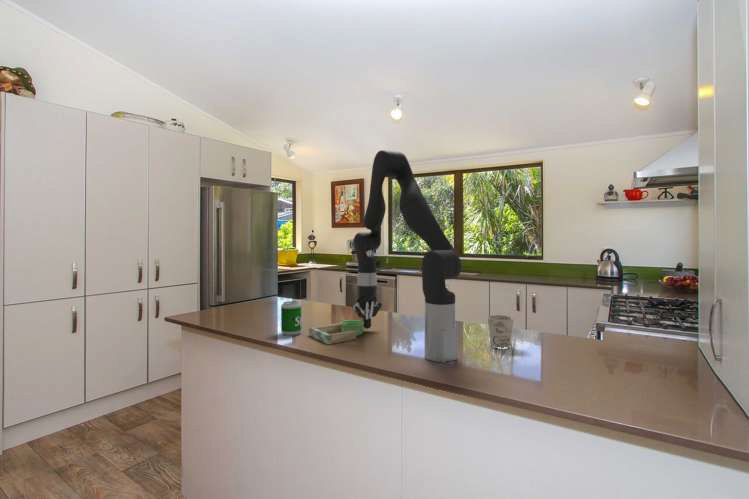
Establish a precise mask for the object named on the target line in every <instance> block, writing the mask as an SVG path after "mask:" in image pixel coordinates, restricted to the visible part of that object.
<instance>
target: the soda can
mask: <svg viewBox="0 0 749 499" xmlns="http://www.w3.org/2000/svg"><path fill="white" fill-rule="evenodd" d="M280 312H281V313H280V315H281V316H280V318H281V319H280V321H281V322H280V327H281V328H280V330H281V331H280V332H281V333H282V334H283V336H288V337H289V336H290V337H293V336H298V335H299V334H301V332H302V331H303V330H302V304H301V303H300V301H297V300H294V301H293V300H292V301H291V300H290V301H288V300H287V301H284V302H283V303H282V304H281V306H280Z"/></svg>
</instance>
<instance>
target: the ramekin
mask: <svg viewBox="0 0 749 499" xmlns="http://www.w3.org/2000/svg"><path fill="white" fill-rule="evenodd" d="M340 325H341V332H346V331H353V330H354V331H356V337H357V336H361V335H363V332H364V327H363V325H364V322H363V320H357V319H346V320H343V321H340Z"/></svg>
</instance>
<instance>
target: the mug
mask: <svg viewBox="0 0 749 499" xmlns="http://www.w3.org/2000/svg"><path fill="white" fill-rule="evenodd" d="M513 325H514V317H512V316H509V315H503V314H502V315H501V314H493V315H488V316H487V326H488V333H489V342H490V347H491V346H494V347H501V348H504V347H509V348H510V345H511V340H512V339H511V338H512V334H513V333H512V332H513Z"/></svg>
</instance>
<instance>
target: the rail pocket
mask: <svg viewBox="0 0 749 499" xmlns="http://www.w3.org/2000/svg"><path fill="white" fill-rule="evenodd" d="M308 330H309V332H308V333H309V334H308V335H309V336H310V337H311V338H314V339H315V340H318V341H320V342H322V343H324V344H326V345H332V344H337V343H343V342H350V341H355V340H357V336H356V331H354V330H353V331H346V332H341V325H340V323H339V322H337V323H330V324H324V325H317V326H310V327H309V328H308Z"/></svg>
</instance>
